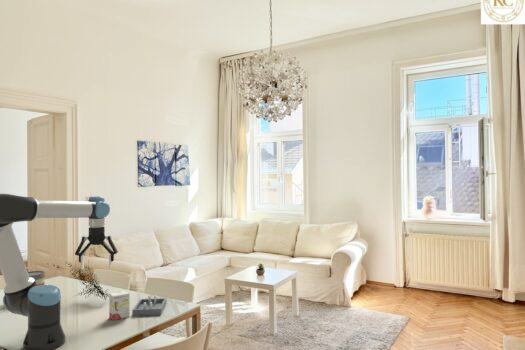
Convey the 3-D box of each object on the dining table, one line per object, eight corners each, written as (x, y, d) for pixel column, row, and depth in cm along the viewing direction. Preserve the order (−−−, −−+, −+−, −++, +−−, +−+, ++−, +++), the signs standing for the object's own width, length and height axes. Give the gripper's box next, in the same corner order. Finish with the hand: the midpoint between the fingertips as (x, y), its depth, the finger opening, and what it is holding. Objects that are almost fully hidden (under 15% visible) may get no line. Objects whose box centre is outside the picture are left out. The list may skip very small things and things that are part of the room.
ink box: (112, 320, 186) (112, 296, 186) (109, 317, 190) (108, 293, 190) (129, 316, 191) (129, 292, 192) (126, 314, 195) (126, 290, 195)
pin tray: (161, 314, 194) (161, 303, 194) (132, 316, 192) (132, 304, 192) (166, 303, 211) (166, 293, 212) (140, 304, 210) (140, 294, 210)
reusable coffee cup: (36, 302, 215) (36, 275, 215) (14, 303, 215) (14, 276, 215) (49, 296, 227) (49, 270, 227) (28, 296, 227) (28, 270, 228)
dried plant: (133, 270, 215) (91, 231, 239) (78, 287, 191) (38, 242, 215) (124, 314, 224) (85, 273, 248) (70, 335, 200) (33, 287, 224)
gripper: (123, 225, 203) (123, 265, 202) (73, 226, 199) (73, 267, 199) (120, 226, 195) (120, 268, 195) (68, 227, 192) (67, 270, 191)
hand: (96, 268), depth 197 cm, fingers open, 13 cm apart
